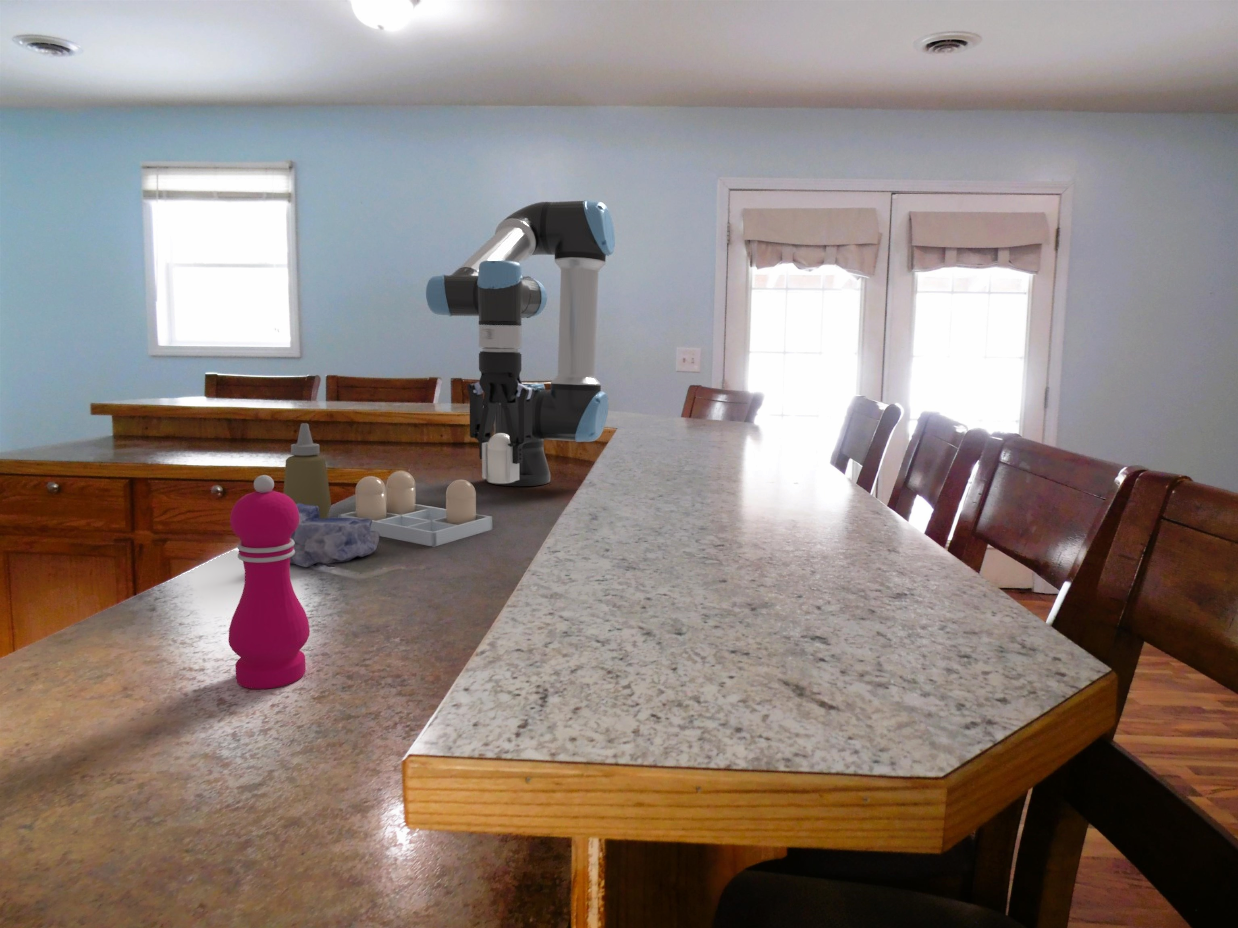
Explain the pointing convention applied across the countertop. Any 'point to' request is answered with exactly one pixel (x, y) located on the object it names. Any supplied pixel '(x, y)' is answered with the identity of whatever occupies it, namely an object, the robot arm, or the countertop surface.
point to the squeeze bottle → (307, 474)
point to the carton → (426, 526)
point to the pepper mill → (267, 591)
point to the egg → (498, 458)
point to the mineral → (330, 538)
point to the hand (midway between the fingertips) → (500, 478)
